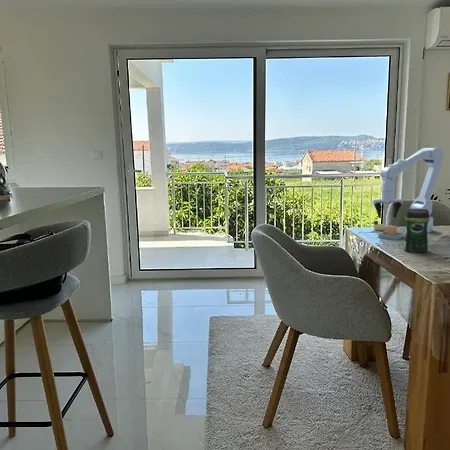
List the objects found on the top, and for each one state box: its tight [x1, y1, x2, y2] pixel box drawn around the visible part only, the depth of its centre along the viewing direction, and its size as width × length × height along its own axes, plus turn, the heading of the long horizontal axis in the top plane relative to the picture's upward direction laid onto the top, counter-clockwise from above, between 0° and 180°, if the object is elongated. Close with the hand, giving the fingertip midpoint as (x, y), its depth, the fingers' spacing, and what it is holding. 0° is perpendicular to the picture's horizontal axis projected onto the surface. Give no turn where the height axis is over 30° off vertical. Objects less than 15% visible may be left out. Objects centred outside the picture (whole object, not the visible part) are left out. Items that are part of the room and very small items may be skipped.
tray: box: [377, 231, 405, 241], centre depth 195 cm, size 9×9×3 cm
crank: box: [373, 220, 392, 231], centre depth 210 cm, size 9×3×5 cm, turn 48°
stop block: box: [385, 224, 398, 236], centre depth 195 cm, size 4×4×6 cm
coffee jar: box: [403, 208, 430, 253], centre depth 172 cm, size 10×8×19 cm
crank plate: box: [370, 229, 406, 234], centre depth 208 cm, size 14×14×1 cm
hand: (386, 217), depth 203 cm, fingers open, 7 cm apart
